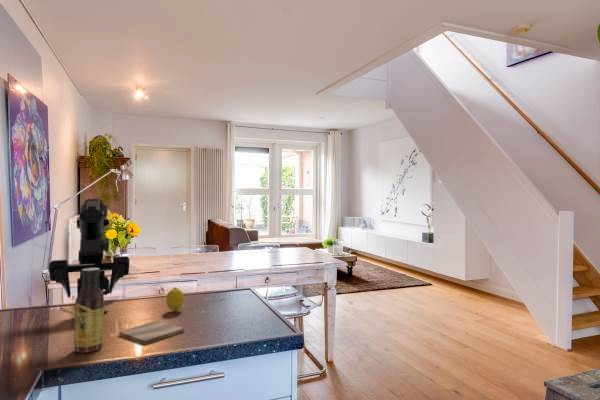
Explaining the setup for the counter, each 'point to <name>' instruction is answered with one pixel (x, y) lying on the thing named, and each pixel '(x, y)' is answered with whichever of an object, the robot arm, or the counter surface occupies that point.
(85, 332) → the sauce bottle
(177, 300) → the lemon
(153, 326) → the walnut board
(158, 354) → the counter surface
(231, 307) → the counter surface
